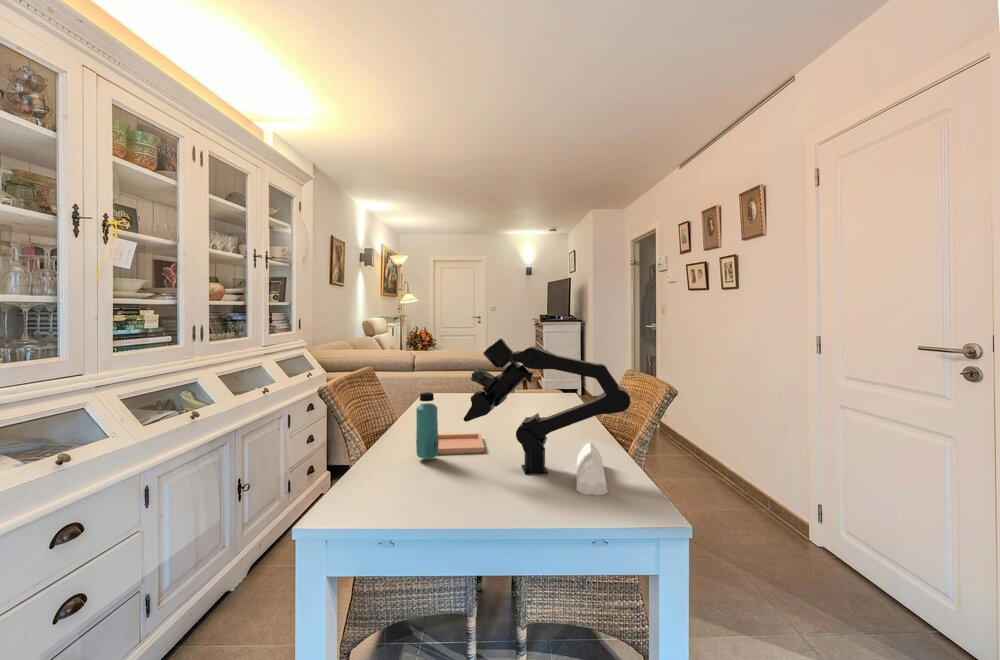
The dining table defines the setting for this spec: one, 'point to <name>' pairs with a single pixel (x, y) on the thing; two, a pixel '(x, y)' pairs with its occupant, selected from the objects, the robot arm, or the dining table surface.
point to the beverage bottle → (427, 427)
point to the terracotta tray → (460, 443)
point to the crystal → (590, 472)
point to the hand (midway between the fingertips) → (469, 416)
